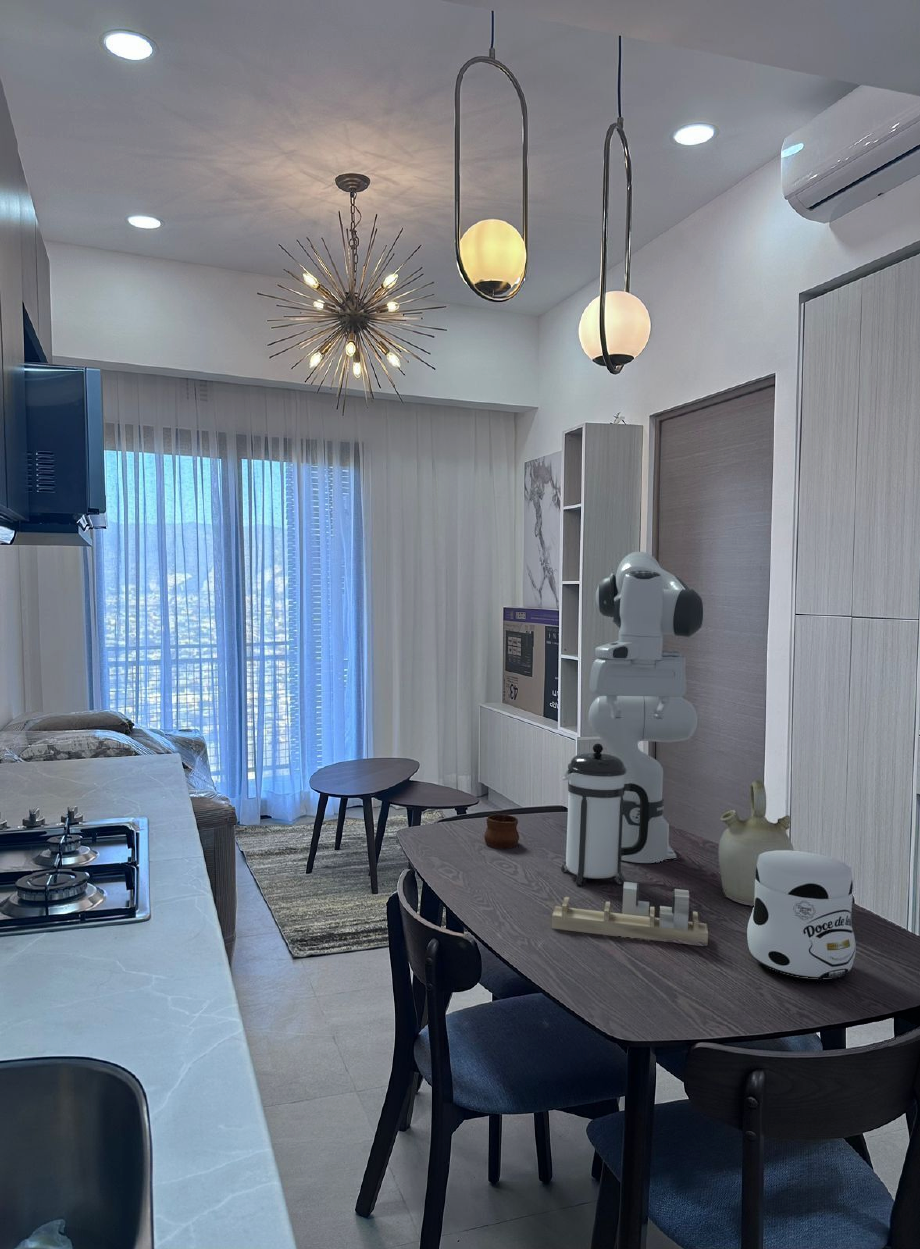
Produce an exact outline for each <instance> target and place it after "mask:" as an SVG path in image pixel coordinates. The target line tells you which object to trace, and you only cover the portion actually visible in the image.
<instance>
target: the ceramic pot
mask: <svg viewBox="0 0 920 1249" xmlns="http://www.w3.org/2000/svg"><path fill="white" fill-rule="evenodd" d="M518 823H519V820H518V818H517V817H515V816H514V815H509V814H501V813H500V814H498V813H497V814H496V813H495V814H494V813H493V814H491V815H488V816H487V817H486V826H487V828H486V829H485V831H484V834H483V839H484V842H485V844H486V845H487V846H488V847H491V848H494V847H496V848H495V849H512V848H516V847H517V846H518V845H519V840H520V834H519V831H518V828H517V827H518ZM511 847H512V848H511Z"/></svg>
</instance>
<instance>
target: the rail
mask: <svg viewBox="0 0 920 1249" xmlns="http://www.w3.org/2000/svg"><path fill="white" fill-rule="evenodd" d="M671 896H672V897H671V906H665V905H660V906H659V917H655V906H649V917H645V916H636V915H627V914H622V913H617V912H611V901H605V906H604V911H600V910H593V909H592V910H591V909H584V908H583V909H582V908H575V907H569V904H570V897H569V896H564V898H563V901H562V905H561V906H558V905H555V908H554V909H553V912H552V918H551V919H552V920H551V929H553V930H560V931H570V932H579V933H586V934H593V935H594V934H595V935H601V934H602V936H610V937H611V936H612V937H618V936H621V937H620V938H626V937H630V938H629V939H634V938H645V939H647V938H648V939H661V940H662V939H663V940H682V941H691V942H702V943H703V942H705V943H707V944H708V939H709V938H708V937H709V932H708V925H707V923H704V922H703V923H702V922H700V921H699V913H698V911H692V921H689V912H690V909H689V908H690V891H689V890H688V889H687V890H686V889H679V888H674V890H672V893H671Z"/></svg>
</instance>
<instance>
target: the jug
mask: <svg viewBox="0 0 920 1249" xmlns="http://www.w3.org/2000/svg"><path fill="white" fill-rule="evenodd" d="M766 791H767V790H766V787H765V784H764V782H763V781H761V780H753V781H752V782H751V785H750V790H749V794H750V795H749V796H750V797H749V798H750V799H749V802H750V803H749V804H750V812H751V814H750V816H749V817H747V818H746V819H739V815H738V811H737V810H736V809H731V810H728V811H727V812H725V813H724V814H723V815H721V817H720V821H721V822H723V823H725V824H726V825H727V826H728V827H726V828H725V830H724V831H723V833H722V835H721V837H720V840H719V843H718V850H717V852H718V854H717V855H718V856H717V857H718V865H719V872H720V879H721V885H722V889H723V893H724V892H725V894H727V895H729V896H730V897H733V898H736V899H739V900H742V901H748V902H754V900H755V879H756V867H757V861H758V857H759V855H760V854H762V853H764V852H769V851H775V850H790V851H795V849H794V845H793V842H792V840H791V839H790V837H789V835H788V833H787V830H789V829H791V826H790V825H791V821H792V818H791V816H790V815H789V814H788V815H785V816H783V817H781V818H777V822H775V823H774V822H771V821H769V820H768V819H767V817H766V813H767V793H766Z"/></svg>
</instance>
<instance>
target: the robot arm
mask: <svg viewBox="0 0 920 1249" xmlns="http://www.w3.org/2000/svg"><path fill="white" fill-rule="evenodd" d="M595 604H596V606H597V608H598V610H599V612H600V614H601V615H602V616H604V617H608V618H613V619H612V623H614V624H615V625H616V626H617V627H618V629H619V631H618V640H616V641H613V642H609V643H606V644H602V645H600V646H597V647H596V648H595V649H594V650H595V651H594V656H595V657H596V659H595V660H594V661H593V663H592V665H591V668H590V670H591V671H590V676H589V690H590V692H591V694H592V695H594V696H595V695H596V696H598V697H596V698H595V699H594V700H593V701H592V702H591V704H590V706H589V710H588V715H587V716H588V724H589V726H590V728H591V730H592V731H593V733H594V734H595V735H596V736H597V737H598V738H600V739H601V740H602V741H603V742H604V743H605V745H606V746H607V748H608V749H609V751H610V753H611V755H612V756H615V757H617V758H619V759H620V760H621V761H622V762H623V764H624V767H625V768H626V774H625V776H624V784H629V783H633V784H637V785H639V786H641V787H642V788H643V789H644V790H645V791H646V793H647V796H648V801H649V819H648V835H647V841H646V844H645V846H644V847H643V849H642V850H641V851H640V852H638V853H636V854H633V855H625V856H622V859H621V861H624V862H628V863H629V862H630V863H638V864H639V863H640V864H652V863H654V864H655V862H656V863H660V861H661V862H664V861H663V860H664V859H668V858H669V859H670V858H676V859H677V854H676V853H675V851H674V849H673V848H672V847H671V846H670V844H669V842H670V838H669V837H670V824H669V823H668V821H667V820H666V819H665V817H664V811H665V810H664V808H665V803H664V802H665V800H664V799H663V784H664V783H663V782H664V769H663V766H662V764H660V763H661V762H659V761H658V760H656V759H655V758H654V757H652V756H650V755H648V754H647V753H645V752H643V751H641V749H640V748H639V743H640V742H642V741H643V742H655V743H656V742H659V743H660V742H661V743H673V742H674V743H675V742H681V741H688V740H690V738H691V737H692V736H693V735H694V734H695V731H696V730H697V725H698V714H697V712H696V709H695V707H694V705H693V704H692V703H691V702H690V701H689V700H687V699H685V698H683V697H684V696H685V694H686V693H687V677H686V676H687V675H686V667H687V666H686V665H687V658H685V656H684V655H683V654H682V653H681V652H680V651H667V650H663V642H664V635H666V636H667V635H668V636H677V637H684V638H685V637H686V638H689V637H692V636H693V635H695V634H696V633H697V632H698V631H699V630H700V629H701V628H702V625H703V621H704V618H705V608H704V607H705V606H704V603H703V600H702V597H701V595H700V594H699V593H697V592H696V591H695V590H694V589H693V588H691V589H690V587H688V585H686V583H685V582H684V581H683V580H682V579H681V578H680V577H679V576H676V575H675V574H672V573H671V572H668V571H666V570H664V568H661V565H660V564H659V562H658V560H656V558H655V557H654V556H652V555H651V554H649V553H648V552H645V551H633V552H630V553H628V554H627V555H626V556H624V557H623V559H622V560H621V561H620V562H619V563H618V566H617V570H616V574H614V572H611V573H610V575H608V576H606V577H604V578H602V579H601V581H599V582H598V585H597V589H596V591H595ZM639 821H640V798H639V796H638V794H637V793H636V792H631V791H625V794H624V797H623V821H622V845H621V847H631V846H633V845H634V844H635V843H636V842H637V840H638V837H639Z"/></svg>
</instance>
